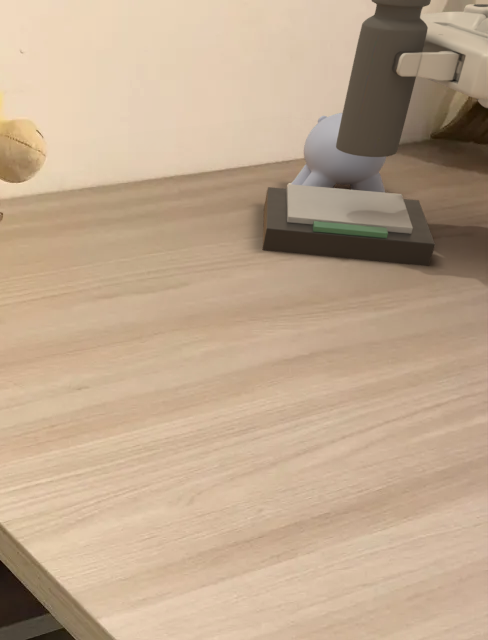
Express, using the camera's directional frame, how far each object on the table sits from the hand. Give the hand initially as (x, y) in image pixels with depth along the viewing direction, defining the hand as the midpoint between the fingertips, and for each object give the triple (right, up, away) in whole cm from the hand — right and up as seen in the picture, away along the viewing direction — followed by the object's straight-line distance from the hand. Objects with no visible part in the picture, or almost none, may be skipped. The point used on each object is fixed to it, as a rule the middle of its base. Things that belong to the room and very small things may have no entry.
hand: (378, 56), depth 96 cm
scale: (0, -12, +12) cm, 17 cm away
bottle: (+1, -6, +5) cm, 8 cm away
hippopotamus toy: (+4, -2, +24) cm, 25 cm away
